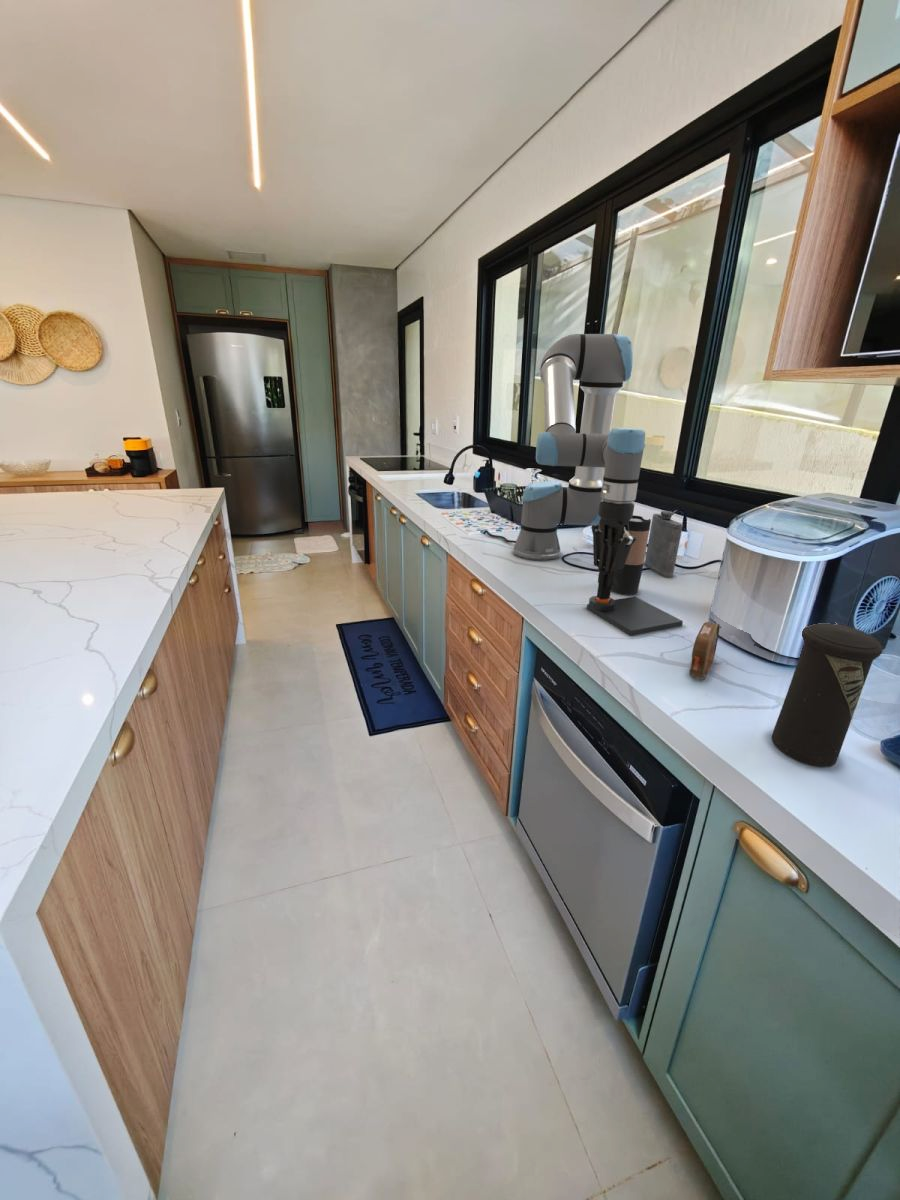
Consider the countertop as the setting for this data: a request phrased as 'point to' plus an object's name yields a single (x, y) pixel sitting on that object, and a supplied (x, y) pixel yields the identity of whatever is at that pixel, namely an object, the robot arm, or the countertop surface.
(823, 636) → the container
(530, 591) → the countertop surface
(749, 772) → the countertop surface
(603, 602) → the tare button
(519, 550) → the robot arm
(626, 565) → the travel mug
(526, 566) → the countertop surface
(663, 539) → the flask
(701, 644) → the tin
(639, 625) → the scale
